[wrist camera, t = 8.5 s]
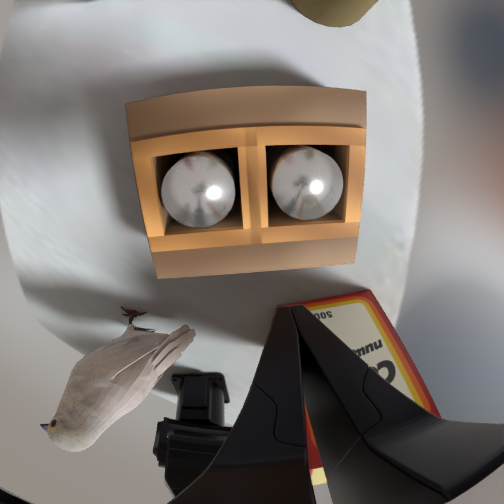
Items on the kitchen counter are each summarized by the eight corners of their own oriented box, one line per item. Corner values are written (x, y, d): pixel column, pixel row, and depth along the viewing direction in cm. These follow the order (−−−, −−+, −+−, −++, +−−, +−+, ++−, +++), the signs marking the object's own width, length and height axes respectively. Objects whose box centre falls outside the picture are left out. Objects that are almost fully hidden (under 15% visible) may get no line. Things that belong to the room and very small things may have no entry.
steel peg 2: (318, 192, 20) (340, 218, 16) (264, 195, 20) (273, 222, 15) (318, 139, 18) (344, 150, 14) (262, 140, 18) (271, 150, 14)
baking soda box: (280, 350, 29) (304, 490, 15) (276, 305, 26) (309, 475, 12) (362, 334, 29) (413, 458, 15) (370, 289, 25) (446, 428, 12)
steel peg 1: (236, 197, 20) (237, 224, 15) (182, 202, 20) (167, 230, 15) (232, 142, 18) (232, 153, 13) (174, 148, 18) (156, 161, 13)
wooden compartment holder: (332, 231, 22) (356, 266, 17) (171, 243, 22) (156, 282, 17) (335, 93, 17) (369, 91, 12) (151, 104, 16) (122, 104, 12)
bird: (74, 307, 24) (17, 424, 11) (190, 297, 24) (168, 459, 11) (93, 339, 27) (52, 451, 14) (202, 334, 27) (193, 478, 14)
